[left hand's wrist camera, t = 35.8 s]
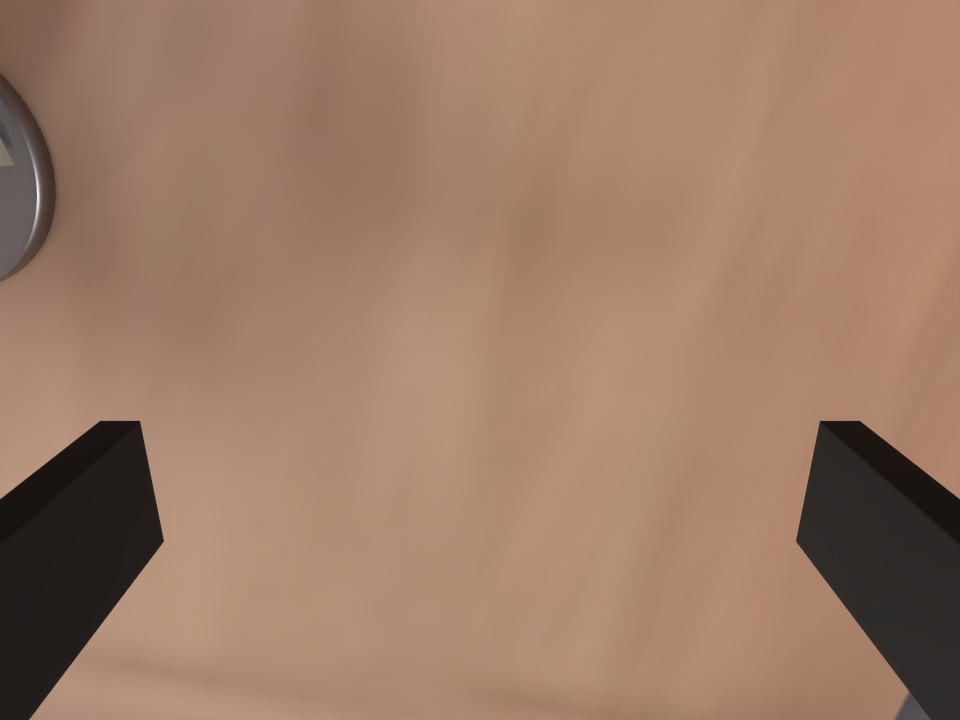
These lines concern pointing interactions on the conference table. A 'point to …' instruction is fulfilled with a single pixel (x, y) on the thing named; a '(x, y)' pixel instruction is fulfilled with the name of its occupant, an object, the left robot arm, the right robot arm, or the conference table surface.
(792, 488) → the conference table surface
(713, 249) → the conference table surface
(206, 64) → the conference table surface
